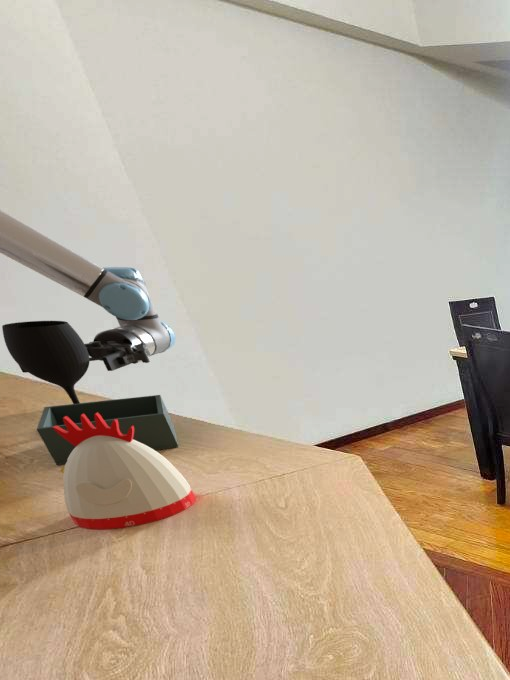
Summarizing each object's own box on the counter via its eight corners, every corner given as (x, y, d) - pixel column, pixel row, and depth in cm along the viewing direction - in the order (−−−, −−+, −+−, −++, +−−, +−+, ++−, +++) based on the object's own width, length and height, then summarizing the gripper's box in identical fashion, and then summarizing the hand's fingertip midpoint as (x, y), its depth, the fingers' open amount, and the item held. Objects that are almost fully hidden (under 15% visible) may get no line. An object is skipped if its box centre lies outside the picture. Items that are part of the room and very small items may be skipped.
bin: (62, 440, 115) (44, 406, 112) (174, 425, 125) (160, 394, 122) (56, 465, 104) (36, 429, 101) (178, 447, 114) (163, 413, 111)
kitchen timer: (95, 498, 94) (44, 405, 86) (204, 486, 99) (165, 397, 92) (57, 536, 83) (-5, 433, 76) (182, 519, 89) (136, 422, 81)
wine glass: (110, 415, 129) (63, 318, 119) (130, 423, 125) (82, 324, 115) (44, 426, 121) (-13, 323, 112) (62, 436, 117) (4, 330, 107)
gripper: (195, 360, 142) (149, 381, 124) (64, 363, 135) (-5, 385, 117) (182, 328, 138) (132, 344, 120) (46, 328, 131) (-28, 346, 114)
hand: (64, 364), depth 119 cm, fingers open, 13 cm apart
